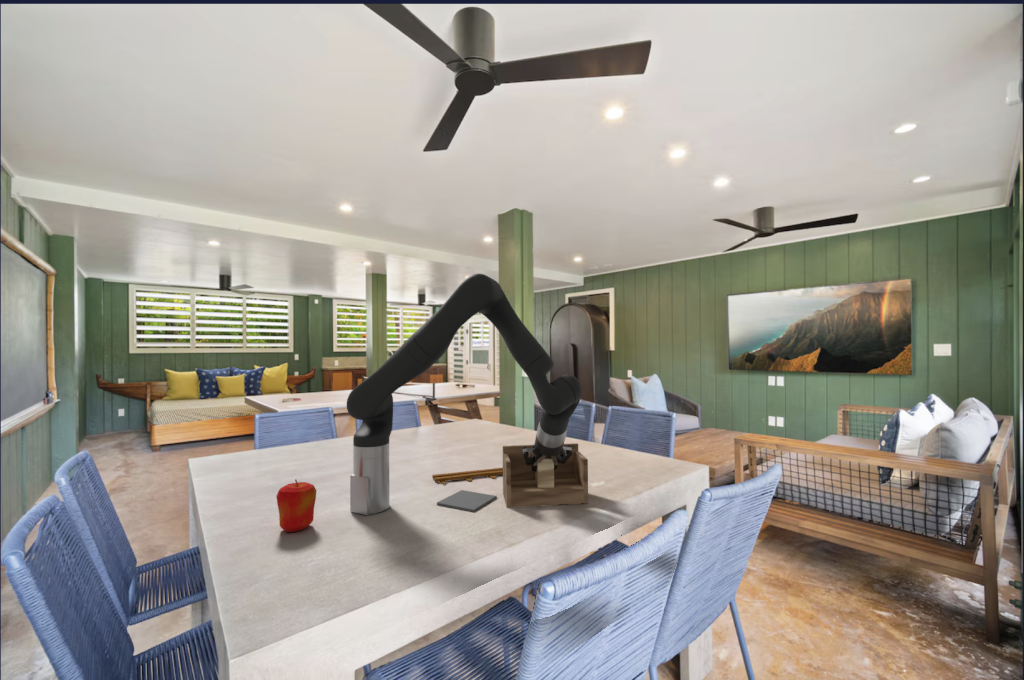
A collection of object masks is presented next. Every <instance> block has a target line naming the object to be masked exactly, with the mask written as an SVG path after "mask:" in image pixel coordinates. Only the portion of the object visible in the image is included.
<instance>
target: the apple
mask: <svg viewBox="0 0 1024 680" xmlns="http://www.w3.org/2000/svg"><path fill="white" fill-rule="evenodd" d="M275 498H276V503H277V509H278V513H279V514H278V515H279V520H278V521H279V527H280V528H281V529H282V530H283V531H284V532H286V533H295V532H299V531H302V530H304V529H307V528H308V527H309V526H310V525H311V524H312V523H313V521H314V515H315V514H314V512H315V505H316V499H317V489H316V487H315V485H314V484H313V483H309V482H306V481H305V482H304V481H298V480H297V479H295V482H292V483H288V484H286V485H284V486H282V487H280V489H278V491H277V494H276V497H275Z"/></svg>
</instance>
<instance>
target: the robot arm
mask: <svg viewBox="0 0 1024 680" xmlns="http://www.w3.org/2000/svg"><path fill="white" fill-rule="evenodd" d="M478 313H479V314H482V315H483V316H484V317H485V318H487V320H489V322H490V323H492V325H493V326H494V327H495V328H496V330H497V331H498V333H499V334H500V336H501V337H502V338H503V341H504V343H505V344H506V347H507V348H508V351H509V352H510V354H511V356H512V357H513V359H514V360H515V361H516V363H517V364H518V366H520V368H521V370H522V371H523V372H524V373H525V374H526V376H527V378H528V380H529V382H530V385H531V387H532V389H533V391H534V393H535V396H536V399H537V402H538V404H539V406H541V407H540V408H542V411H541V413H540V420H539V422H538V425H537V429H536V435H535V439H534V440H535V441H534V444H532V445H533V446H532V448H527V447H526V446H524V447H522V448H523V456H524V459H525V461H526V464H527V465H531V469H532V471H534V472H536V470H537V465H538V463H541V461H542V460H543V459H552V461H553V463H554V470H556V469H557V465H558V464H559V463H561V464H564V463H565V462H566V461H567V460H568V459H569V457H570V456H571V455H572V454H573V453H572V448H571V445H567V446H566V447H563V445H564V444H565V441H566V438H567V433H568V426H569V423H570V418H571V417H572V415H573V413H574V412H575V410H576V409H577V407H578V406H579V403H580V402H581V399H582V396H583V389H582V385H581V382H580V381H579V379H578V378H577V377H576V376H574V375H572V374H568V373H567V374H562V375H559V376H558V377H556V378H555V379H553V380H552V381H550V382H549V380H548V376H547V375H548V374H549V372H550V371H552V369H553V367H554V361H553V359H552V358H551V356H550V355H549V354H548V353H547V351H546V350H545V348H543V346H542V345H541V344H540V343H539V341H538V340H537V338H535V336H534V335H533V334H532V332H531V331H529V329H528V327H527V326H525V324H524V323H523V322H522V320H521V319H520V317H519V315H518V314H517V313H516V311H515V310H514V308H513V307H512V305H511V303H510V301H509V299H508V297H507V295H506V294H505V291H504V290H503V288H502V287H501V285H500V283H499V282H497V281H496V280H495V279H493V278H491V277H489V275H486V274H484V273H473V274H471V275H469V276H468V277H466V278H465V279H464V280H463V281H462V282H461V283H460V284H459V285H458V286H457V288H456V289H455V290H454V291H453V293H451V295H450V296H449V297H448V299H446V301H445V302H444V303H443V304H442V305H441V307H440V308H439V309H437V311H436V312H435V313H434V314H432V316H430V317H429V318H428V319H427V320H426V321H425V322H424V323H423V324H422V325H421V326H420V327H419V328H418V329H416V331H414V333H412V334H411V335H410V336H409V337H408V338H407V339H406V340H405V342H403V344H401V346H400V347H399V348H397V350H396V351H395V352H394V353H392V354H391V355H390V357H388V359H387V360H386V361H385V362H383V364H382V365H381V366H380V367H379V368H378V369H376V371H374V372H373V373H372V374H371V375H369V376H368V377H367V378H366V379H364V380H363V381H361V382H360V383H359V384H357V386H355V387H354V388H353V389H352V390H351V391H350V393H349V395H348V396H347V399H346V410H347V413H348V415H350V417H352V418H353V419H355V420H360V421H362V422H361V425H360V426H359V428H358V429H357V431H356V432H355V433H354V434H353V438H352V439H353V440H352V441H353V444H352V446H353V457H352V459H353V460H352V461H353V467H352V468H353V469H352V471H353V474H351V475H350V477H349V478H350V479H349V480H350V481H349V482H350V485H349V486H350V487H349V489H350V490H349V493H350V494H349V495H350V496H349V497H350V498H349V501H350V506H349V508H350V511H349V512H351V513H355V514H360V515H363V516H369V515H371V514H377V513H378V514H379V513H381V512H383V511H386V510H388V509H389V508H390V437H391V434H392V432H393V431H392V430H393V421H394V420H393V419H394V397H393V394H394V392H396V391H397V390H398V389H399V388H401V387H403V386H404V385H406V384H408V383H410V382H411V381H413V380H414V379H417V377H420V376H421V375H422V374H424V373H426V371H428V370H429V369H430V368H432V366H433V365H434V364H435V363H437V361H439V360H440V359H441V358H442V357H443V355H445V353H446V352H447V350H448V349H449V348H450V345H451V343H452V341H453V339H454V337H455V336H456V334H457V332H458V331H459V329H461V327H462V326H463V325H464V324H466V323H467V322H468V321H469V320H470V319H471V318H472V317H473V316H475V315H476V314H478ZM532 452H533V453H534V455H533V456H532V457H530V455H531V453H532ZM559 454H560V455H559ZM558 455H559V456H558ZM557 456H558V457H557Z"/></svg>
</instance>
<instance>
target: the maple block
mask: <svg viewBox="0 0 1024 680" xmlns="http://www.w3.org/2000/svg"><path fill="white" fill-rule="evenodd" d="M535 483H536V485H537V487H538V488H554V463H553V461H552V459H543V460H542V461H541V463H538V465H537V470H536V472H535Z"/></svg>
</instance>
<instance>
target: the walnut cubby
mask: <svg viewBox="0 0 1024 680" xmlns="http://www.w3.org/2000/svg"><path fill="white" fill-rule="evenodd" d="M533 445H534V444H521V445H520V444H519V445H516V444H515V445H502V468H503V475H502V495H503V499H504V503H505V506H506V508H522V507H523V508H525V507H524V506H526V507H543V506H542V505H547V506H559V505H558V504H568V505H582V504H581V503H588V504H589V460H588V458H587V457H586V456H585V455H583V454H582V453H581V452H580V451H579V443H564V445H563V447H566V446H567V445H571V448H572V453H573V454H572V455H571V456H570V457H569V459H568V460H567V461H566V462H565V463H564V464H561V463H559V464H558V465H557V469H556V470H554V488H538V487H537V485H536V483H535V472H534V471H532V469H531V465H527V464H526V461H525V459H524V456H523V448H522V447H524V446H526V447H527V448H532V446H533ZM533 455H534V453H533V452H532V453H531V455H530V457H532V456H533ZM559 455H560V454H559ZM559 455H558V456H559ZM558 456H557V457H558Z"/></svg>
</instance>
